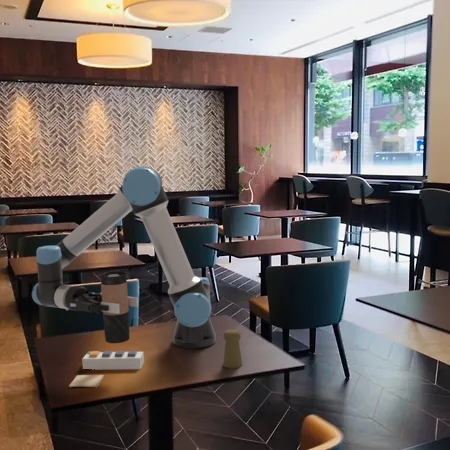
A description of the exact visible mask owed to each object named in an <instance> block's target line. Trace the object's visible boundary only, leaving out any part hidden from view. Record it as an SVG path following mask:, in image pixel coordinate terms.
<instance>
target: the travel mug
mask: <svg viewBox="0 0 450 450" xmlns="http://www.w3.org/2000/svg"><path fill="white" fill-rule="evenodd" d="M100 286H101V287H100V292H102V302H108V303H116V304H119V309H120V313H119V314H116V313H109V312H103V311H102V318H103V320H102V321H103V329H104V340H105V342H106V343H109V344H122V343H126V342H127V341H129V340H130V311H129V310H130V309H129V307H130V306H128V296H129V294H128V292H129V291H128V281H127V273H126V272H125V271H119V270H118V271H108V272H106V274H104V275H103V274H100Z"/></svg>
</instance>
